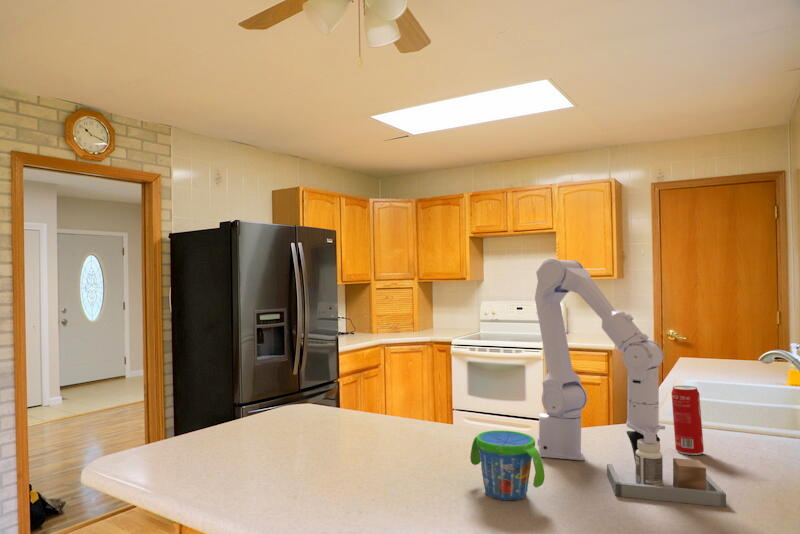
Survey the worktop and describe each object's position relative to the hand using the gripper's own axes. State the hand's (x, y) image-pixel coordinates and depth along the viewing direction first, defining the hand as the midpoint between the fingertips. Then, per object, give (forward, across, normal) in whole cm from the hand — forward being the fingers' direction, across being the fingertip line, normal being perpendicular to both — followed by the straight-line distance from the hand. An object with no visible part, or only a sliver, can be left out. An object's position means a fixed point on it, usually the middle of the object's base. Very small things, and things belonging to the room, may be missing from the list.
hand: (642, 469), depth 107 cm
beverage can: (+2, +20, -13) cm, 25 cm away
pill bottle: (+2, -5, 0) cm, 5 cm away
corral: (+1, -7, -2) cm, 7 cm away
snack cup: (+2, -17, +26) cm, 31 cm away
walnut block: (+1, -7, -7) cm, 10 cm away
